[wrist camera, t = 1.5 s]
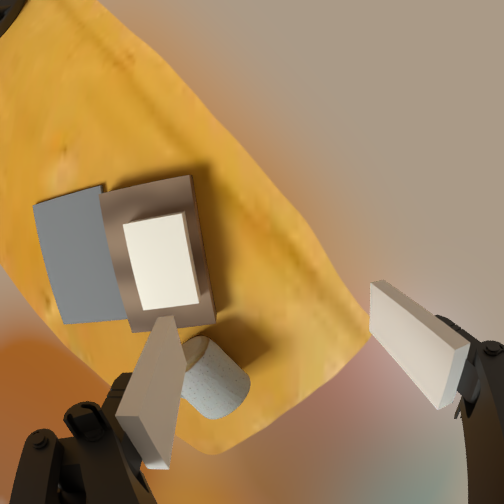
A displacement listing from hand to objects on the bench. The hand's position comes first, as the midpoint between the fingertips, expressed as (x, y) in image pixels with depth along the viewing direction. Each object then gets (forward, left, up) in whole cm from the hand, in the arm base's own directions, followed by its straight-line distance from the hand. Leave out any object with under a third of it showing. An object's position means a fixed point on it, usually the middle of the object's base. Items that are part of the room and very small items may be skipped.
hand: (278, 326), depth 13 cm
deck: (0, -10, -20) cm, 22 cm away
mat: (-1, -21, -20) cm, 28 cm away
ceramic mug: (+15, -8, -20) cm, 26 cm away
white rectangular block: (0, -9, -17) cm, 19 cm away
